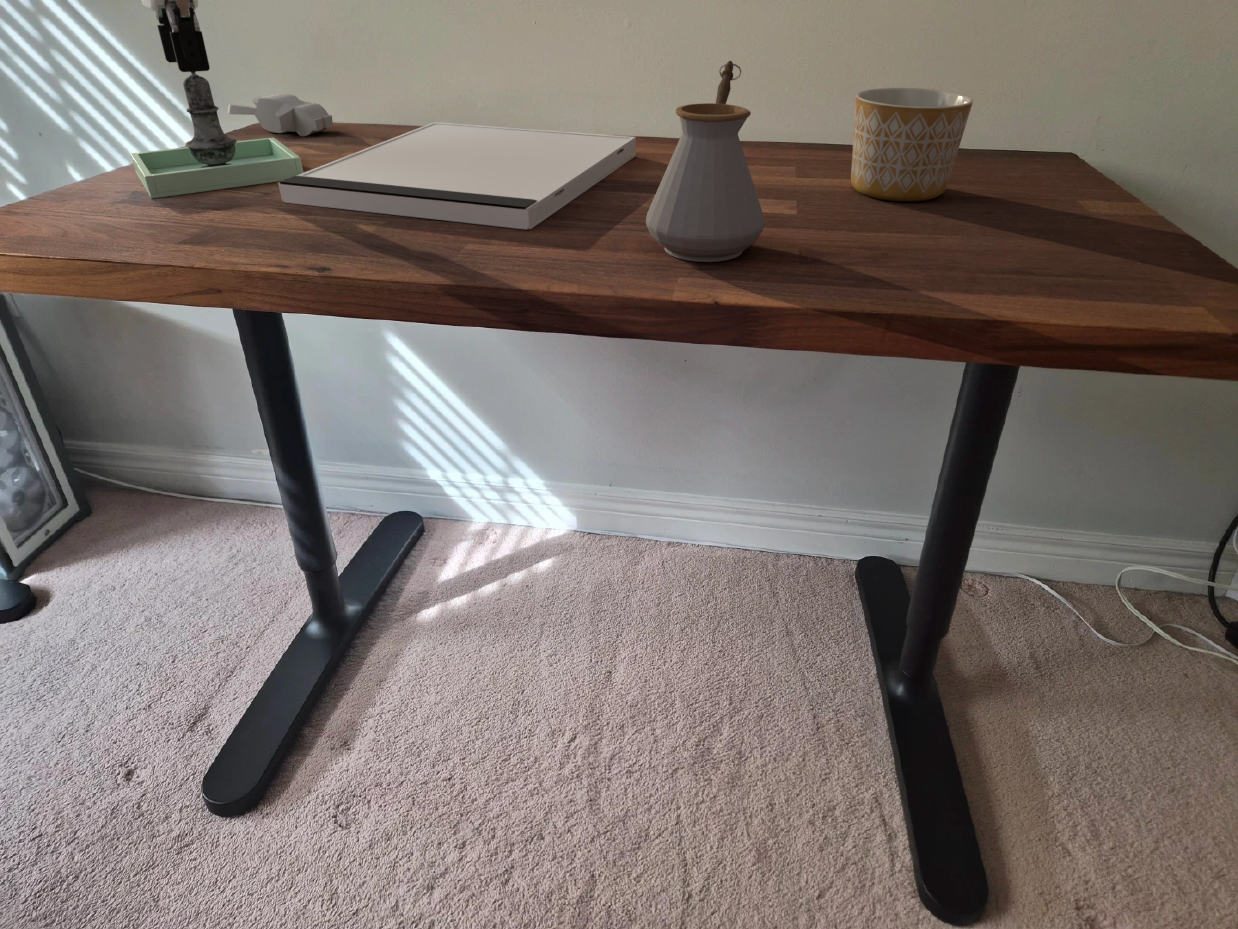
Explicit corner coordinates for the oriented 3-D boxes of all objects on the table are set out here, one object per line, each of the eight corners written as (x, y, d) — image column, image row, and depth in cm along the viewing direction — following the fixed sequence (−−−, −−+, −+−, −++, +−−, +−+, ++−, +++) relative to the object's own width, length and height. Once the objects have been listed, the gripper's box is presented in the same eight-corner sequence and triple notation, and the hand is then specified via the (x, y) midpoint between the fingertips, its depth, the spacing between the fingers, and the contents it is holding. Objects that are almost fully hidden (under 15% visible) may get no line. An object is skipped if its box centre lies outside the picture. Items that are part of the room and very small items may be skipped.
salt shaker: (253, 170, 106) (229, 66, 99) (211, 180, 102) (183, 72, 95) (225, 163, 108) (199, 62, 102) (183, 173, 104) (154, 68, 98)
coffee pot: (757, 273, 76) (774, 96, 68) (634, 264, 78) (636, 91, 70) (772, 208, 93) (787, 61, 85) (671, 202, 95) (676, 58, 87)
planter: (964, 186, 101) (985, 93, 95) (935, 212, 92) (955, 111, 86) (863, 172, 107) (877, 84, 101) (826, 194, 98) (839, 99, 92)
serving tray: (151, 198, 96) (144, 176, 95) (136, 173, 106) (130, 153, 105) (304, 177, 104) (300, 157, 103) (278, 156, 114) (273, 137, 113)
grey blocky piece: (301, 111, 120) (217, 92, 123) (305, 148, 122) (223, 128, 126) (342, 100, 127) (262, 82, 131) (345, 135, 130) (266, 116, 133)
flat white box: (527, 206, 85) (277, 180, 94) (529, 230, 87) (282, 202, 95) (635, 136, 113) (434, 121, 121) (635, 155, 114) (436, 139, 123)
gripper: (98, -109, 93) (143, 59, 102) (115, -115, 81) (163, 77, 90) (171, -106, 97) (208, 56, 106) (198, -112, 84) (236, 73, 94)
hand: (187, 66), depth 98 cm, fingers open, 9 cm apart
